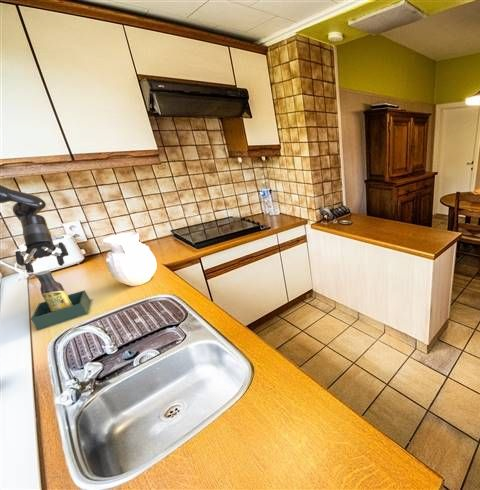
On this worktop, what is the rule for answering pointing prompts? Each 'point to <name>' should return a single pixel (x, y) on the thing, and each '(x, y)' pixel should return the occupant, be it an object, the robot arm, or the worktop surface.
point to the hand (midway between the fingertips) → (46, 268)
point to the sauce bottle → (53, 292)
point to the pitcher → (129, 259)
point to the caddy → (61, 311)
